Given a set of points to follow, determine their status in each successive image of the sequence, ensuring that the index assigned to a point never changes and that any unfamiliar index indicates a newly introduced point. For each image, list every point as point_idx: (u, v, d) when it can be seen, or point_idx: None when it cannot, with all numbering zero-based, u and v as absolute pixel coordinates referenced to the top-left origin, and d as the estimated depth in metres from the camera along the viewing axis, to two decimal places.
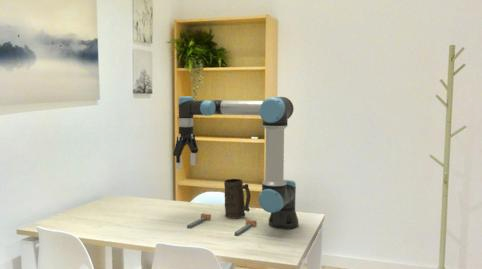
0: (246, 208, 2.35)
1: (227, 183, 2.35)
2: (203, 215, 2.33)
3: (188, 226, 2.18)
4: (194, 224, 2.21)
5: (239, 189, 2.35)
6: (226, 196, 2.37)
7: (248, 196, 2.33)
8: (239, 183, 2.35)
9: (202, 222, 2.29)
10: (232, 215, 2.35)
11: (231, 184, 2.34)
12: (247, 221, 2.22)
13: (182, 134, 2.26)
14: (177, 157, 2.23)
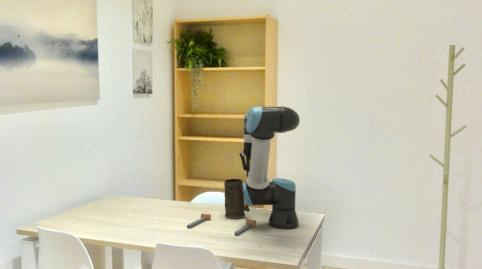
0: (246, 208, 2.35)
1: (227, 183, 2.35)
2: (203, 215, 2.33)
3: (188, 226, 2.18)
4: (194, 224, 2.21)
5: (239, 189, 2.35)
6: (226, 196, 2.37)
7: None
8: (239, 183, 2.35)
9: (202, 222, 2.29)
10: (232, 215, 2.35)
11: (231, 184, 2.34)
12: (247, 221, 2.22)
13: None
14: None
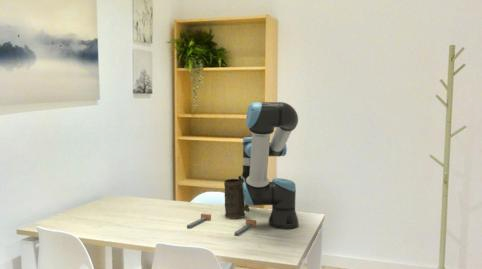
0: (246, 208, 2.35)
1: (227, 183, 2.35)
2: (203, 215, 2.33)
3: (188, 226, 2.18)
4: (194, 224, 2.21)
5: (239, 189, 2.35)
6: (226, 196, 2.37)
7: None
8: (239, 183, 2.35)
9: (202, 222, 2.29)
10: (232, 215, 2.35)
11: (231, 184, 2.34)
12: (247, 221, 2.22)
13: None
14: None
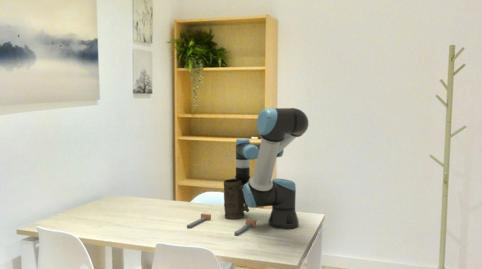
0: (245, 208, 2.34)
1: (226, 183, 2.34)
2: (203, 215, 2.33)
3: (188, 226, 2.18)
4: (194, 224, 2.21)
5: (238, 189, 2.34)
6: (225, 196, 2.36)
7: None
8: (238, 183, 2.34)
9: (202, 222, 2.29)
10: (231, 215, 2.34)
11: (230, 184, 2.33)
12: (247, 221, 2.22)
13: None
14: None
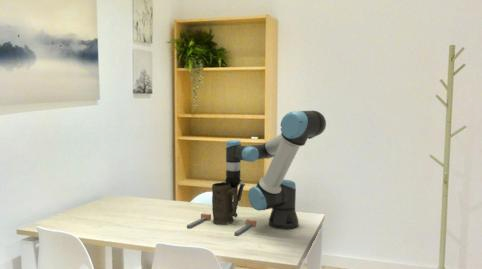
0: (233, 213, 2.24)
1: (214, 187, 2.25)
2: (203, 215, 2.33)
3: (188, 226, 2.18)
4: (194, 224, 2.21)
5: (226, 193, 2.24)
6: (213, 200, 2.27)
7: (235, 201, 2.22)
8: (226, 187, 2.24)
9: (202, 222, 2.29)
10: (218, 220, 2.25)
11: (218, 188, 2.24)
12: (247, 221, 2.22)
13: None
14: None
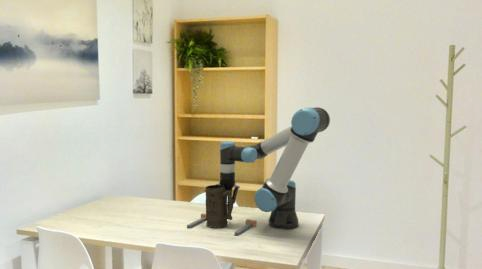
0: (229, 216, 2.19)
1: (208, 190, 2.19)
2: (203, 215, 2.33)
3: (188, 226, 2.18)
4: (194, 224, 2.21)
5: (221, 196, 2.19)
6: (207, 203, 2.20)
7: (231, 203, 2.17)
8: (221, 190, 2.19)
9: (202, 222, 2.29)
10: (213, 224, 2.19)
11: (212, 191, 2.17)
12: (247, 221, 2.22)
13: None
14: None
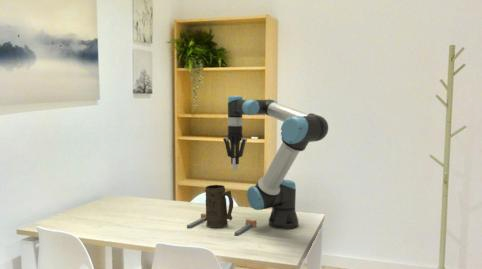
0: (229, 216, 2.19)
1: (208, 190, 2.19)
2: (203, 215, 2.33)
3: (188, 226, 2.18)
4: (194, 224, 2.21)
5: (221, 196, 2.19)
6: (207, 203, 2.20)
7: (231, 203, 2.17)
8: (221, 190, 2.19)
9: (202, 222, 2.29)
10: (213, 224, 2.19)
11: (212, 191, 2.18)
12: (247, 221, 2.22)
13: None
14: None
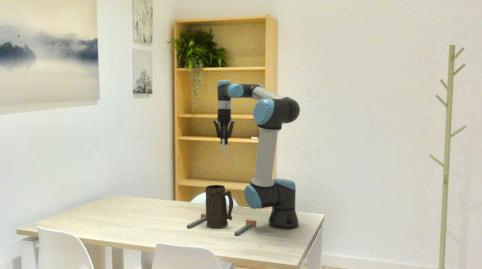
0: (229, 216, 2.19)
1: (208, 190, 2.19)
2: (203, 215, 2.33)
3: (188, 226, 2.18)
4: (194, 224, 2.21)
5: (221, 196, 2.19)
6: (207, 203, 2.20)
7: (231, 203, 2.17)
8: (221, 190, 2.19)
9: (202, 222, 2.29)
10: (213, 224, 2.19)
11: (212, 191, 2.18)
12: (247, 221, 2.22)
13: None
14: None
